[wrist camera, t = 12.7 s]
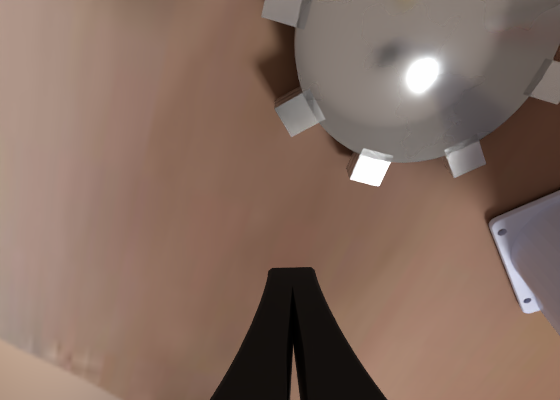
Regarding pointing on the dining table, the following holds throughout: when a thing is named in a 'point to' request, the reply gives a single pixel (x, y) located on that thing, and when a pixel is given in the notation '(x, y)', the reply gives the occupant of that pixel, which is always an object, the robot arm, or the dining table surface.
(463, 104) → the sprocket
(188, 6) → the dining table surface
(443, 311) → the dining table surface
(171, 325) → the dining table surface
